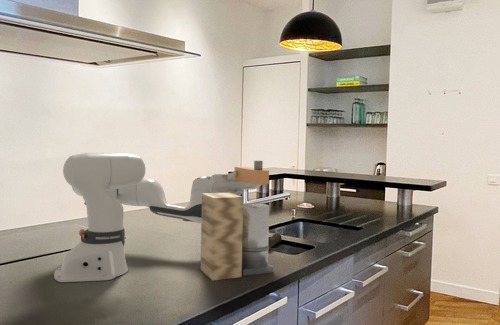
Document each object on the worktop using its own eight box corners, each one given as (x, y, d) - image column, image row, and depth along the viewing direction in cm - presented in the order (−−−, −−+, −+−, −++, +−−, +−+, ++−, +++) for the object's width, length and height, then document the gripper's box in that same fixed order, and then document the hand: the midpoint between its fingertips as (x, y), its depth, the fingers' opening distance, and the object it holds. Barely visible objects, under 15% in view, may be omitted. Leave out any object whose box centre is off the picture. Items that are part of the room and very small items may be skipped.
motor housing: (242, 275, 142) (244, 208, 141) (230, 266, 152) (231, 203, 151) (274, 272, 147) (275, 207, 145) (259, 263, 157) (261, 202, 156)
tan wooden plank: (256, 184, 141) (256, 161, 140) (234, 179, 158) (234, 158, 158) (268, 184, 142) (269, 161, 142) (245, 179, 160) (246, 158, 159)
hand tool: (273, 241, 192) (273, 231, 192) (281, 242, 191) (281, 232, 190) (257, 251, 175) (257, 240, 174) (266, 252, 173) (266, 241, 173)
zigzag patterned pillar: (212, 280, 137) (213, 198, 136) (200, 269, 148) (201, 193, 146) (241, 277, 141) (243, 197, 140) (228, 266, 152) (229, 192, 151)
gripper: (257, 194, 170) (271, 179, 158) (207, 196, 161) (218, 180, 150) (254, 180, 172) (268, 164, 161) (205, 180, 164) (216, 164, 153)
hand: (244, 172), depth 156 cm, fingers closed on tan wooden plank, 4 cm apart
